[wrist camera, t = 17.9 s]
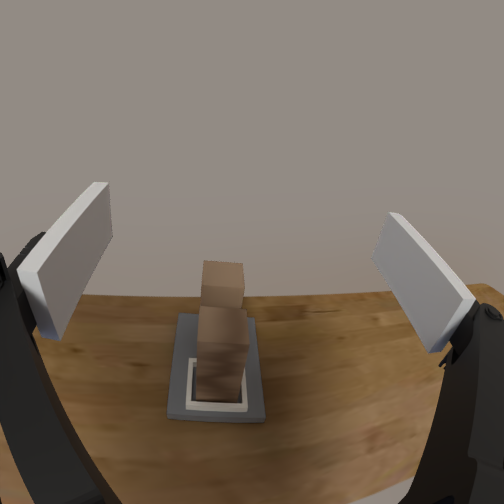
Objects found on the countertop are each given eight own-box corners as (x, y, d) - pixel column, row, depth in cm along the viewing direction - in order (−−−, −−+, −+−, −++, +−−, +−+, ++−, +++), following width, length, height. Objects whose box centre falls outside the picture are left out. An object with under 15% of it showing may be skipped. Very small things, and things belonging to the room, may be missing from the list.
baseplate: (167, 418, 33) (158, 353, 26) (179, 319, 48) (179, 247, 41) (263, 422, 35) (288, 360, 28) (252, 324, 50) (267, 255, 43)
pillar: (195, 402, 35) (197, 341, 28) (197, 371, 39) (199, 305, 33) (236, 404, 35) (249, 344, 29) (234, 373, 40) (246, 309, 33)
